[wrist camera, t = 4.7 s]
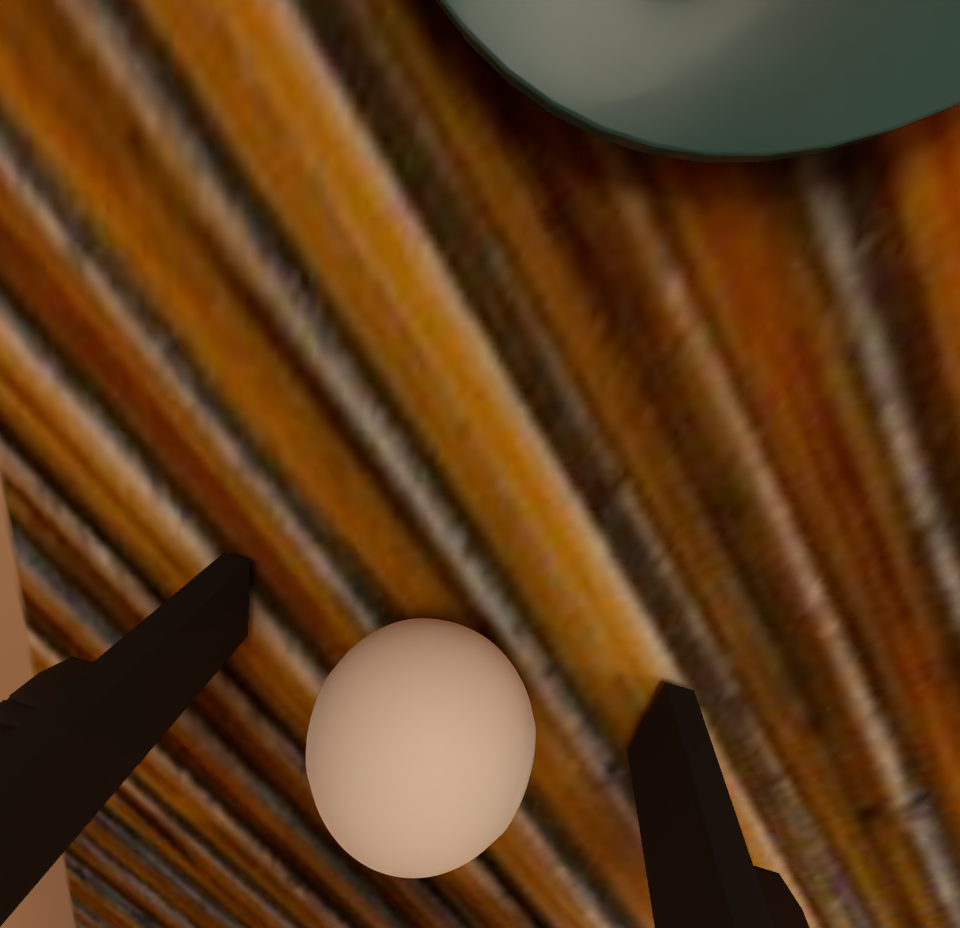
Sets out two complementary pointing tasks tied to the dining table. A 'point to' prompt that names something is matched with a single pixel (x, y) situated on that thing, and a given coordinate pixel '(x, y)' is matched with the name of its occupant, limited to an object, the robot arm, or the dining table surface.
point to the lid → (724, 69)
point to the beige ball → (420, 747)
